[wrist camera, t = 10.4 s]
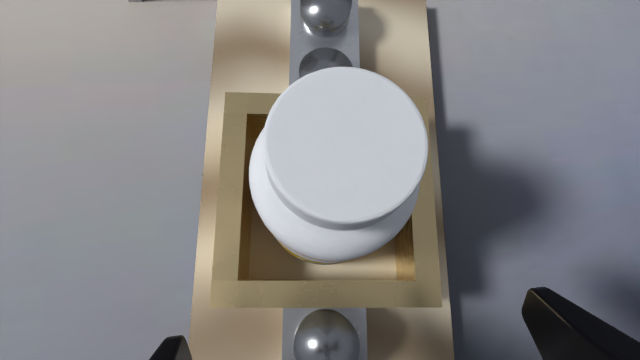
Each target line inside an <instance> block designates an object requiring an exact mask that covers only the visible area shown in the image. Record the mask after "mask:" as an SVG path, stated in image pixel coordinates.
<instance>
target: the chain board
mask: <svg viewBox="0 0 640 360" xmlns="http://www.w3.org/2000/svg"><path fill="white" fill-rule="evenodd" d="M358 19H359V56H360V68H361V69H365V70H368V71H371V72H375V73H377V74H379V75H382V76H384V77H385V78H387V79H389V80H391V81H392V82H393V83H395V84H396V85H397V86H399V87H400V88H401V89H402V90H403V91H404V92H405V93H406V94H407V95H408V96H409V97H427V108H428V121H429V134H430V148H431V161H432V174H433V188H434V201H435V214H436V227H437V241H438V254H439V267H440V281H441V294H442V307H443V308H366V320H367V358H368V360H454V347H453V335H452V322H451V310H450V297H449V285H448V272H447V260H446V247H445V235H444V223H443V210H442V198H441V185H440V173H439V160H438V148H437V135H436V123H435V110H434V98H433V85H432V73H431V61H430V48H429V36H428V23H427V11H426V0H358ZM290 26H291V0H218V4H217V16H216V28H215V40H214V52H213V63H212V75H211V87H210V99H209V111H208V122H207V134H206V146H205V158H204V170H203V182H202V193H201V205H200V217H199V229H198V241H197V252H196V264H195V276H194V288H193V300H192V311H191V323H190V335H189V350H190V353H191V356H192V360H282V328H283V308H209V306H210V293H211V279H212V266H213V252H214V238H215V225H216V211H217V197H218V184H219V170H220V157H221V143H222V129H223V116H224V102H225V92H245V93H283V92H284V91H285V90H286V89H287V88H288V87H289V64H290ZM257 139H258V138H255V143H256V140H257ZM249 279H397V278H396V257H395V237H394V238H392V239H391V240H390V241H389V242H388V243H386V244H385V245H383V246H382V247H380V248H379V249H377V250H376V251H374V252H372V253H370V254H368V255H365V256H363V257H359V258H356V259H352V260H348V261H345V262H342V263H337V264H331V265H318V264H312V263H309V262H305V261H303V260H301V259H298V258H296V257H295V256H293V255H292V254H290V253H289V252H288V251H286V250H285V249H284V248H283V247H282V245H281V244H280V243H279V242H278V241H277V239H276V238H275V237H274V235H273V234H272V233H271V232H270V231H269V229H268V228H267V227H266V226H265V224H264V222H263V221H262V219H261V217H260V216H259V214H258V211H257V209H256V207H255V204H254V201H253V199H252V219H251V239H250V259H249Z"/></svg>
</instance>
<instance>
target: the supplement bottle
mask: <svg viewBox="0 0 640 360" xmlns="http://www.w3.org/2000/svg"><path fill="white" fill-rule="evenodd" d="M427 159H428V136H427V131H426V127H425V124H424V121H423V119H422V116H421V114H420V112H419V110H418V108H417V107H416V105H415V104H414V102H413V101H412V100H411V99H410V97H409V96H408V95H407V94H406V93H405V92H404V91H403V90H402V89H401V88H400V87H399V86H397V85H396V84H395V83H393V82H392V81H391V80H389V79H387V78H385V77H384V76H382V75H379V74H377V73H375V72H371V71H368V70H365V69H361V68H355V67H332V68H325V69H321V70H318V71H315V72H313V73H310V74H307V75H305V76H303V77H302V78H300V79H298V80H297V81H295V82H294V83H292V84H291V85H290V86H289V87H288V88H287V89H286V90H285V91H284V92H283V93H282V94H281V95H280V96H279V97H278V98H277V100H276V102H275V103H274V105H273V106H272V108H271V110H270V112H269V115H268V117H267V120H266V123H265V127H264V128H263V130H262V131H261V133H260V135H259V137H258V139H257V140H256V143H255V145H254V148H253V151H252V154H251V159H250V165H249V184H250V190H251V195H252V199H253V201H254V204H255V207H256V209H257V211H258V214H259V216H260V217H261V219H262V221H263V222H264V224H265V226H266V227H267V228H268V229H269V231H270V232H271V233H272V234H273V235H274V237H275V238H276V239H277V241H278V242H279V243H280V244H281V245H282V247H283V248H284V249H285V250H286V251H288V252H289V253H290V254H292V255H293V256H295V257H296V258H298V259H301V260H303V261H305V262H309V263H312V264H318V265H331V264H337V263H342V262H345V261H348V260H352V259H356V258H359V257H363V256H365V255H368V254H370V253H372V252H374V251H376V250H377V249H379V248H380V247H382V246H383V245H385V244H386V243H388V242H389V241H390V240H391V239H392V238H394V237H395V236H396V235H397V234H398V233H399V231H400V230H401V229H402V228H403V227H404V225H405V224H406V222H407V221H408V219H409V217H410V216H411V214H412V212H413V209H414V207H415V204H416V201H417V198H418V193H419V187H420V181H421V180H422V177H423V174H424V172H425V169H426V164H427Z"/></svg>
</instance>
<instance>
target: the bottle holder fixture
mask: <svg viewBox="0 0 640 360" xmlns="http://www.w3.org/2000/svg"><path fill="white" fill-rule="evenodd" d="M332 67H355V68H360V56H359V19H358V0H291V26H290V64H289V86H290V85H291V84H292V83H294V82H295V81H297V80H298V79H300V78H302V77H303V76H305V75H307V74H310V73H313V72H315V71H318V70H321V69H325V68H332ZM281 94H282V93H245V92H225V102H224V116H223V129H222V143H221V157H220V170H219V184H218V197H217V211H216V225H215V238H214V252H213V266H212V279H211V293H210V306H209V308H283V328H282V360H368V358H367V320H366V308H443V307H442V294H441V281H440V267H439V254H438V241H437V227H436V214H435V201H434V188H433V174H432V161H431V148H430V134H429V121H428V108H427V97H410V99H411V100H412V101H413V102H414V104H415V105H416V107H417V108H418V110H419V112H420V114H421V116H422V119H423V121H424V124H425V127H426V131H427V136H428V159H427V164H426V169H425V172H424V174H423V177H422V180H421V181H420V187H419V193H418V198H417V201H416V204H415V207H414V209H413V212H412V214H411V216H410V217H409V219H408V221H407V222H406V224H405V225H404V227H403V228H402V229H401V230H400V231H399V233H398V234H397V235H396V236H395V257H396V278H397V279H249V259H250V239H251V219H252V195H251V190H250V184H249V165H250V159H251V154H252V151H253V148H254V145H255V138H258V137H259V135H260V133H261V131H262V130H263V128H264V127H265V123H266V120H267V117H268V115H269V112H270V110H271V108H272V106H273V105H274V103H275V102H276V100H277V98H278V97H279V96H280V95H281Z"/></svg>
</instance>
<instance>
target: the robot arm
mask: <svg viewBox="0 0 640 360" xmlns="http://www.w3.org/2000/svg"><path fill="white" fill-rule="evenodd" d="M522 316H523V319H524V321H525V323H526V325H527V327H528V329H529V331H530V333H531V336H532V338H533V340H534V342H535V344H536V346H537V348H538V350H539V352H540V354H541V356H542V358H543V360H640V342H638V341H636V340H635V339H633V338H631V337H629V336H628V335H626V334H624V333H623V332H621V331H619V330H618V329H616V328H614V327H613V326H611V325H609V324H608V323H606V322H604V321H603V320H601V319H599V318H598V317H596V316H594V315H592V314H591V313H589V312H587V311H586V310H584V309H582V308H581V307H579V306H577V305H576V304H574V303H572V302H571V301H569V300H567V299H566V298H564V297H562V296H560V295H559V294H557V293H555V292H554V291H552V290H550V289H549V288H546V287H537V288H531V289H529V290H528V292H527V294H526V297H525V300H524V303H523V306H522ZM149 360H192V356H191V353H190V350H189V347H188V345H187V342H186V339H185V337H184V336H182V335H179V336H171V337H167V338H166V339H165V340H164V341H163V342H162V343H161V344H160V346H159V347H158V348H157V350H156V351H155V352H154V354H153V355H152V356H151V358H150V359H149Z"/></svg>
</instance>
